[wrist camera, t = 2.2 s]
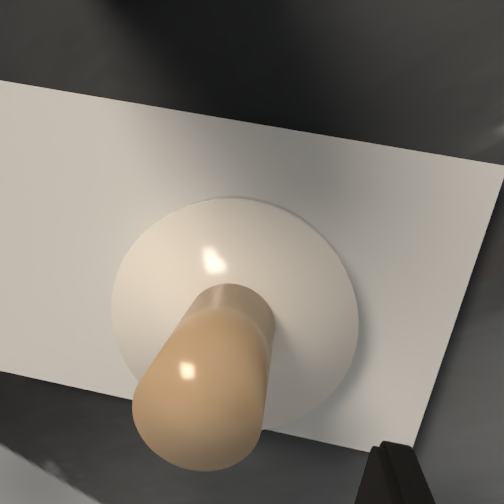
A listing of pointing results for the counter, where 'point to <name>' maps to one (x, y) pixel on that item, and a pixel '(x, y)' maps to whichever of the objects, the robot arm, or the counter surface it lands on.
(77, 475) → the counter surface
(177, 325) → the lid
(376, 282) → the mat
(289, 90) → the counter surface
